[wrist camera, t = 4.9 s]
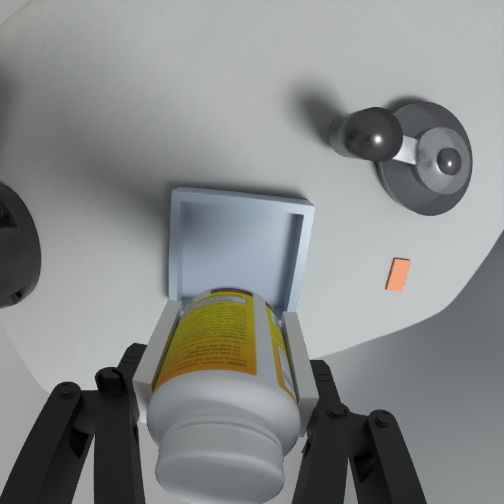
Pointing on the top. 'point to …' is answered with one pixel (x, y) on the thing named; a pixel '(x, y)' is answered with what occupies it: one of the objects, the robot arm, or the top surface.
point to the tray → (238, 244)
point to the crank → (403, 147)
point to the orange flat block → (398, 274)
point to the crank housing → (399, 173)
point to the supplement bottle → (224, 402)
